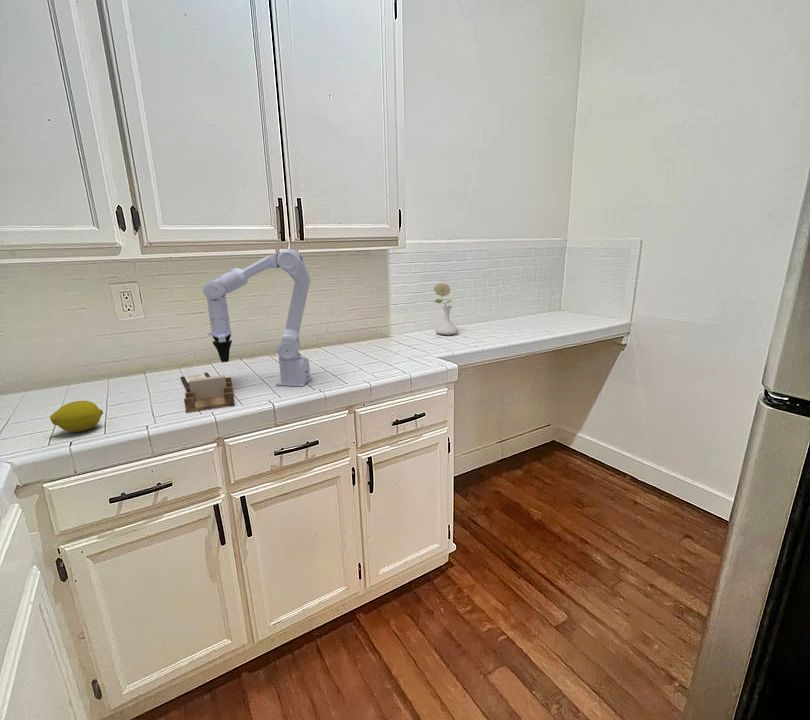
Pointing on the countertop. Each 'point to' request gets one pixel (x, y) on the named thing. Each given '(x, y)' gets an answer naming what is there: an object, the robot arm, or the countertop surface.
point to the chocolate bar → (186, 378)
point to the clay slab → (208, 387)
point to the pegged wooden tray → (209, 399)
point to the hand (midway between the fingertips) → (224, 358)
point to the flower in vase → (445, 311)
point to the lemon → (77, 416)
